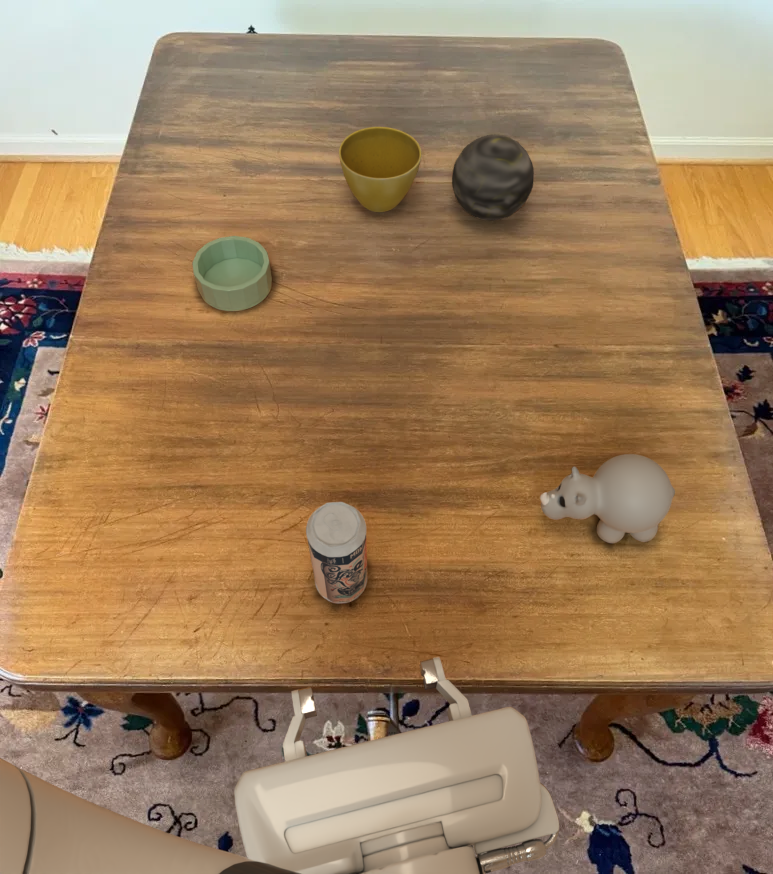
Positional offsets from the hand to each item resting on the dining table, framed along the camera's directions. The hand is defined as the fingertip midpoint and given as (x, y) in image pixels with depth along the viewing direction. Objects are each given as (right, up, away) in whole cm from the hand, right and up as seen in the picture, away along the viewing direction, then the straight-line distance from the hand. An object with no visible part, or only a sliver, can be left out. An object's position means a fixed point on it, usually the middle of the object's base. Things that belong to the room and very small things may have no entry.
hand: (366, 675), depth 54 cm
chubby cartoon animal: (+21, +9, +18) cm, 30 cm away
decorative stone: (+14, +46, +42) cm, 64 cm away
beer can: (-3, +4, +15) cm, 15 cm away
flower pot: (+1, +48, +42) cm, 64 cm away
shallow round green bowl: (-16, +35, +34) cm, 52 cm away
